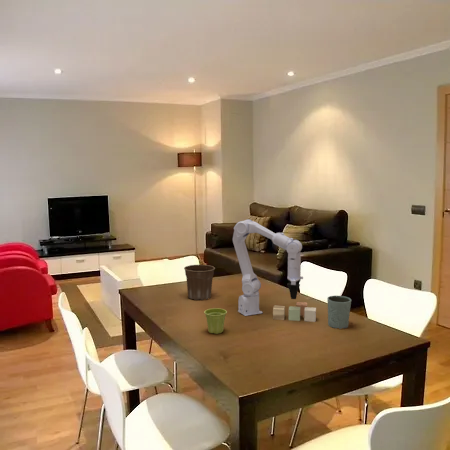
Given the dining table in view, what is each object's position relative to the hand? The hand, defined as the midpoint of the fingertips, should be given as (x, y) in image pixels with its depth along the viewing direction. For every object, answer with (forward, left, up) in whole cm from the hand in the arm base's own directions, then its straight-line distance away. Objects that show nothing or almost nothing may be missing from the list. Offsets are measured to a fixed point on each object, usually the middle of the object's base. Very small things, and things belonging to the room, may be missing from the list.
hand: (293, 296), depth 209 cm
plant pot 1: (-25, +51, -10) cm, 58 cm away
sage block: (0, -1, -10) cm, 10 cm away
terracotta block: (+7, +3, -10) cm, 13 cm away
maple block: (-6, +3, -10) cm, 12 cm away
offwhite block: (+5, -5, -10) cm, 13 cm away
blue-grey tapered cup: (+12, -17, -10) cm, 23 cm away
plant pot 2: (-39, 0, -10) cm, 41 cm away
